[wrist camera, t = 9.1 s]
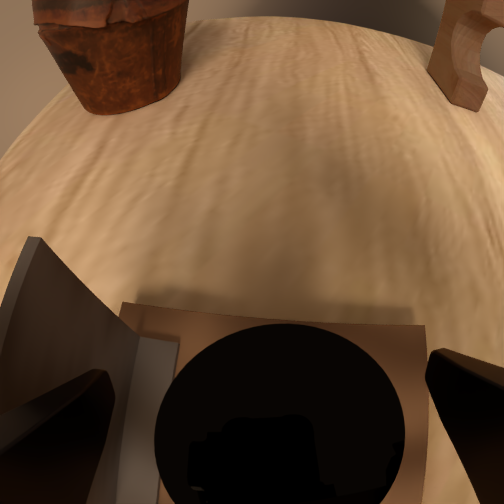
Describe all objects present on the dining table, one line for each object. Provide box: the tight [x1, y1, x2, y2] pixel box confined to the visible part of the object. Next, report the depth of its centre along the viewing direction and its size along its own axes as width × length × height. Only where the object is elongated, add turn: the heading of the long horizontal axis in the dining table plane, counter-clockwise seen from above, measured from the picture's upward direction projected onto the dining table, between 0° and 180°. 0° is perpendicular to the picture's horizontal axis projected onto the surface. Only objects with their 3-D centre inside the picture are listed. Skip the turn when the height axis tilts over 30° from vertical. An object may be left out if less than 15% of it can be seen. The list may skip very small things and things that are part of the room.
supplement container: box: [154, 323, 405, 504], centre depth 10 cm, size 6×6×9 cm
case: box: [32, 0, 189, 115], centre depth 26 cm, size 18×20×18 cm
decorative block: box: [427, 0, 504, 112], centre depth 27 cm, size 11×6×20 cm, turn 173°
